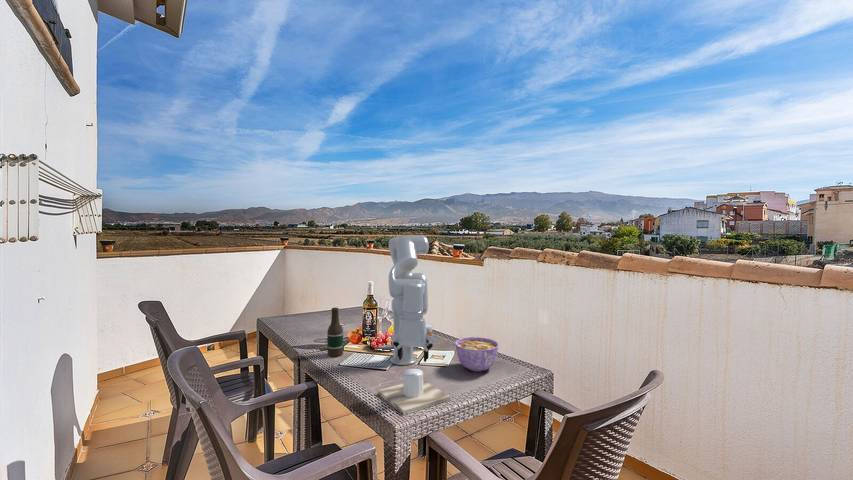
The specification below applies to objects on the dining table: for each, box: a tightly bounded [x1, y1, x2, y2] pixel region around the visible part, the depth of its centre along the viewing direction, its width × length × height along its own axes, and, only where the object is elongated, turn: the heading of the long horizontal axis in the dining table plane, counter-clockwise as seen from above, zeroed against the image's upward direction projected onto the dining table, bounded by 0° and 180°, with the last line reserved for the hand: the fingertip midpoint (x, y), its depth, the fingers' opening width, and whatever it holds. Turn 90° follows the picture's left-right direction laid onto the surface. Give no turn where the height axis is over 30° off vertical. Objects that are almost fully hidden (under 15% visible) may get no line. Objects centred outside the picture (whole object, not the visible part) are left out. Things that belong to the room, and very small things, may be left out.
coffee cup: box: [425, 322, 434, 345], centre depth 205 cm, size 9×9×12 cm
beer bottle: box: [326, 307, 344, 358], centre depth 193 cm, size 8×8×24 cm
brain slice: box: [367, 341, 394, 350], centre depth 205 cm, size 20×17×3 cm
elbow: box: [402, 368, 424, 398], centre depth 147 cm, size 7×11×8 cm
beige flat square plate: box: [377, 379, 451, 413], centre depth 145 cm, size 20×20×7 cm
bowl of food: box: [455, 336, 500, 373], centre depth 175 cm, size 20×20×12 cm
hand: (413, 359), depth 145 cm, fingers open, 9 cm apart
